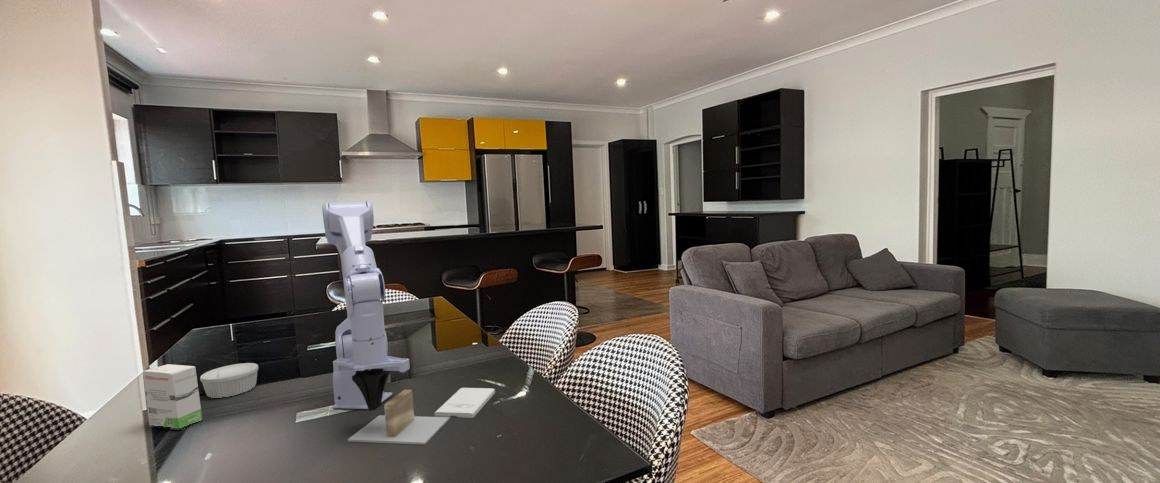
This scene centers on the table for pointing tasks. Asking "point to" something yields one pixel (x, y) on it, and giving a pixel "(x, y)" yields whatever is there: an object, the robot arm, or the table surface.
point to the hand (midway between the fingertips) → (374, 407)
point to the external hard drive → (465, 402)
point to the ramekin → (230, 380)
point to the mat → (412, 434)
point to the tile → (399, 413)
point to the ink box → (172, 396)
